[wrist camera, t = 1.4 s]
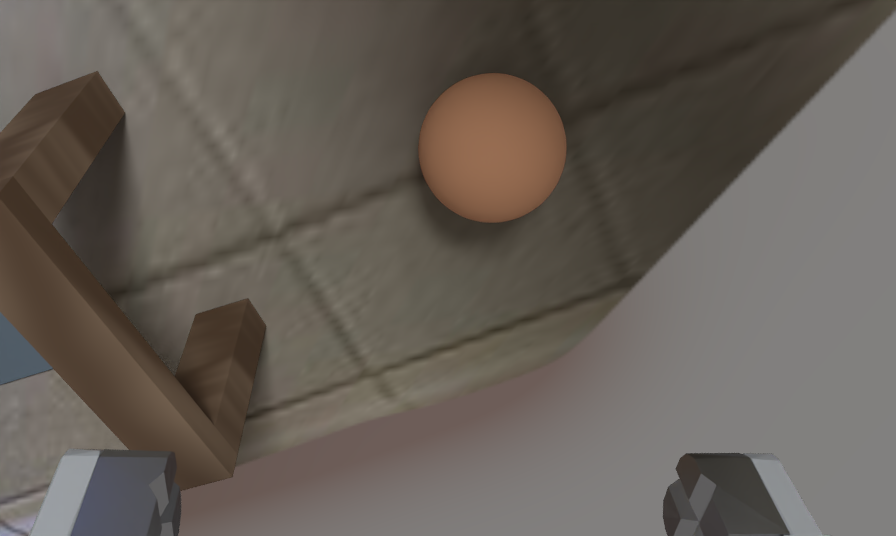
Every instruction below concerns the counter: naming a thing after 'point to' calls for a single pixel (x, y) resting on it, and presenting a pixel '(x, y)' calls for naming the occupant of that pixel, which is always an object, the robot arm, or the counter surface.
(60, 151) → the bridge
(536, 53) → the counter surface
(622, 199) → the counter surface
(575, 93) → the counter surface
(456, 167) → the ball
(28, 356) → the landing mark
